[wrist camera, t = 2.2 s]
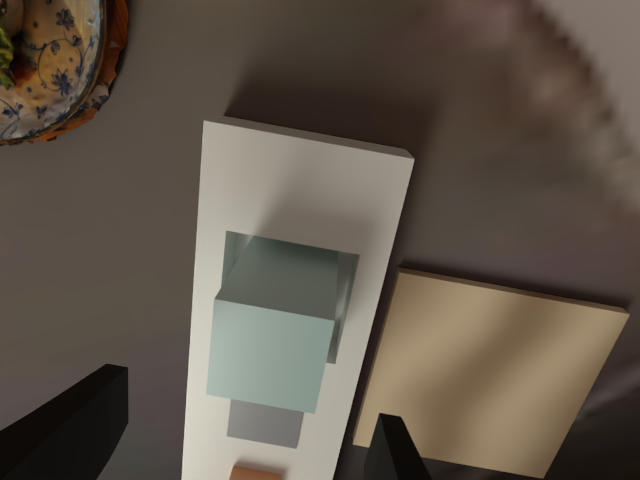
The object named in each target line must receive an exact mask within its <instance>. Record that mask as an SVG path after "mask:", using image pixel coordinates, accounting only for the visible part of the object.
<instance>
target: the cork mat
mask: <svg viewBox="0 0 640 480" xmlns="http://www.w3.org/2000/svg"><path fill="white" fill-rule="evenodd" d="M629 315H630V314H629V313H628V312H627V311H625V310H624V309H623V308H620V307H615V306H609V305H604V304H598V303H593V302H587V301H582V300H576V299H571V298H565V297H560V296H555V295H549V294H544V293H538V292H533V291H527V290H522V289H516V288H511V287H505V286H500V285H494V284H489V283H483V282H478V281H472V280H467V279H461V278H456V277H450V276H445V275H439V274H434V273H428V272H423V271H417V270H412V269H406V268H401V267H398V269H397V272H396V276H395V280H394V283H393V287H392V291H391V295H390V298H389V302H388V306H387V310H386V313H385V317H384V321H383V325H382V328H381V332H380V336H379V339H378V343H377V347H376V351H375V354H374V358H373V362H372V366H371V369H370V373H369V377H368V380H367V384H366V388H365V392H364V395H363V399H362V403H361V407H360V410H359V414H358V418H357V422H356V425H355V429H354V433H353V445H358V446H364V447H369V446H370V443H371V440H372V436H373V433H374V429H375V426H376V423H377V419H378V416H379V413H384V414H390V415H395V416H401V418H402V419H403V421H404V423H405V425H406V427H407V429H408V431H409V434H410V436H411V438H412V440H413V442H414V444H415V446H416V448H417V450H418V452H419V454H420V456H421V457H425V458H431V459H436V460H442V461H447V462H453V463H459V464H464V465H470V466H475V467H481V468H486V469H492V470H498V471H503V472H509V473H514V474H520V475H525V476H531V477H537V478H542V479H543V478H544V476H545V474H546V472H547V471H548V469H549V467H550V465H551V463H552V461H553V459H554V457H555V455H556V454H557V452H558V450H559V448H560V446H561V444H562V442H563V440H564V438H565V437H566V435H567V433H568V431H569V429H570V427H571V425H572V423H573V421H574V419H575V418H576V416H577V414H578V412H579V410H580V408H581V406H582V404H583V402H584V401H585V399H586V397H587V395H588V393H589V391H590V389H591V387H592V385H593V384H594V382H595V380H596V378H597V376H598V374H599V372H600V370H601V368H602V367H603V365H604V363H605V361H606V359H607V357H608V355H609V353H610V351H611V350H612V348H613V346H614V344H615V342H616V340H617V338H618V336H619V334H620V333H621V331H622V329H623V327H624V325H625V323H626V321H627V319H628V317H629Z"/></svg>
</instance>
